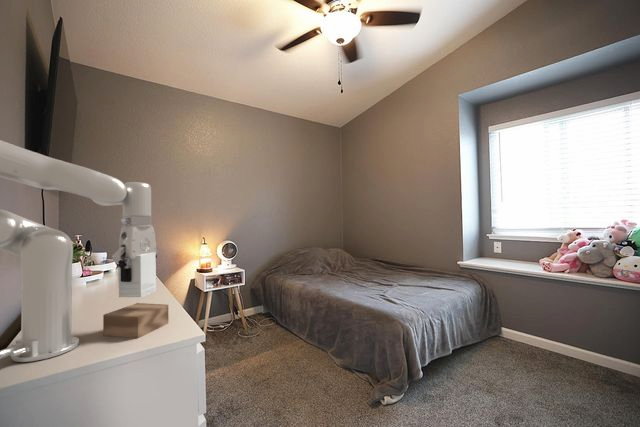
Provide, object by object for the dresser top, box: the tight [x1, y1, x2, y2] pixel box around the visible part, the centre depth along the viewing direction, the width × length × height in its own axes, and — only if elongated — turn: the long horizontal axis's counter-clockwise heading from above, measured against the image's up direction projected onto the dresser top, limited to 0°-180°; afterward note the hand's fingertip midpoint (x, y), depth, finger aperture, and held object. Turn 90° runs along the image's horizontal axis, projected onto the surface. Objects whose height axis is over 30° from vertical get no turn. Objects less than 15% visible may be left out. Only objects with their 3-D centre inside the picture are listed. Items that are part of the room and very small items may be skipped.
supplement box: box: [117, 253, 157, 298], centre depth 89 cm, size 7×7×13 cm
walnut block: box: [102, 302, 169, 339], centre depth 89 cm, size 12×12×6 cm
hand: (137, 278), depth 89 cm, fingers closed on supplement box, 7 cm apart
